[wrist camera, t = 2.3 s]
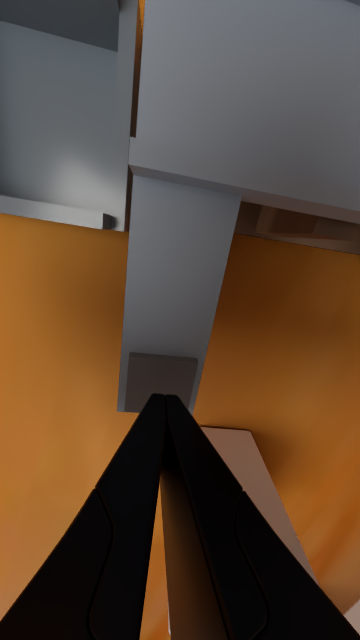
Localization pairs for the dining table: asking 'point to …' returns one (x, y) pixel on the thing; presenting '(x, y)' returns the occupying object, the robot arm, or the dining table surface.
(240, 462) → the jar
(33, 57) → the grey open box
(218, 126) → the lever
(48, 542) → the dining table surface
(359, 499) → the dining table surface
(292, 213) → the catapult base
